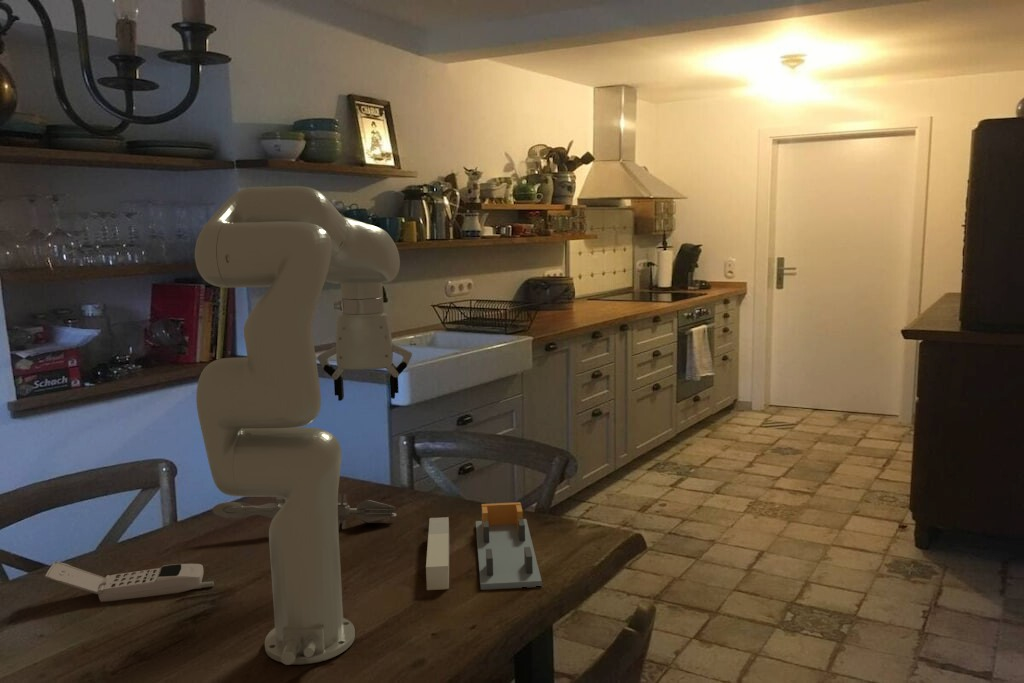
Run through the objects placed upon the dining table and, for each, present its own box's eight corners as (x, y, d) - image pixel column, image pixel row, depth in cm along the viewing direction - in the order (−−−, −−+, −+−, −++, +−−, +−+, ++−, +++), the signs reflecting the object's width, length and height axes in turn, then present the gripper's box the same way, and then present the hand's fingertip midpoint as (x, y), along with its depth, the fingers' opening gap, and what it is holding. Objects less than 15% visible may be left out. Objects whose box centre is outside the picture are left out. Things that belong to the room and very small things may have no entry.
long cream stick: (448, 589, 133) (448, 565, 133) (426, 590, 133) (425, 567, 132) (449, 537, 155) (448, 517, 154) (430, 538, 155) (429, 518, 154)
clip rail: (541, 586, 133) (541, 557, 133) (480, 589, 133) (480, 560, 132) (526, 523, 161) (525, 499, 160) (475, 526, 160) (475, 501, 159)
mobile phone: (52, 561, 133) (214, 542, 139) (57, 595, 134) (216, 575, 140) (41, 577, 128) (210, 557, 134) (46, 612, 129) (213, 590, 135)
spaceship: (217, 490, 161) (211, 487, 153) (395, 493, 168) (398, 490, 160) (213, 531, 159) (207, 530, 151) (393, 532, 166) (396, 531, 158)
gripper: (312, 311, 145) (317, 404, 148) (409, 308, 147) (413, 400, 150) (317, 306, 153) (322, 395, 155) (410, 304, 154) (413, 392, 157)
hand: (367, 398), depth 153 cm, fingers open, 9 cm apart
